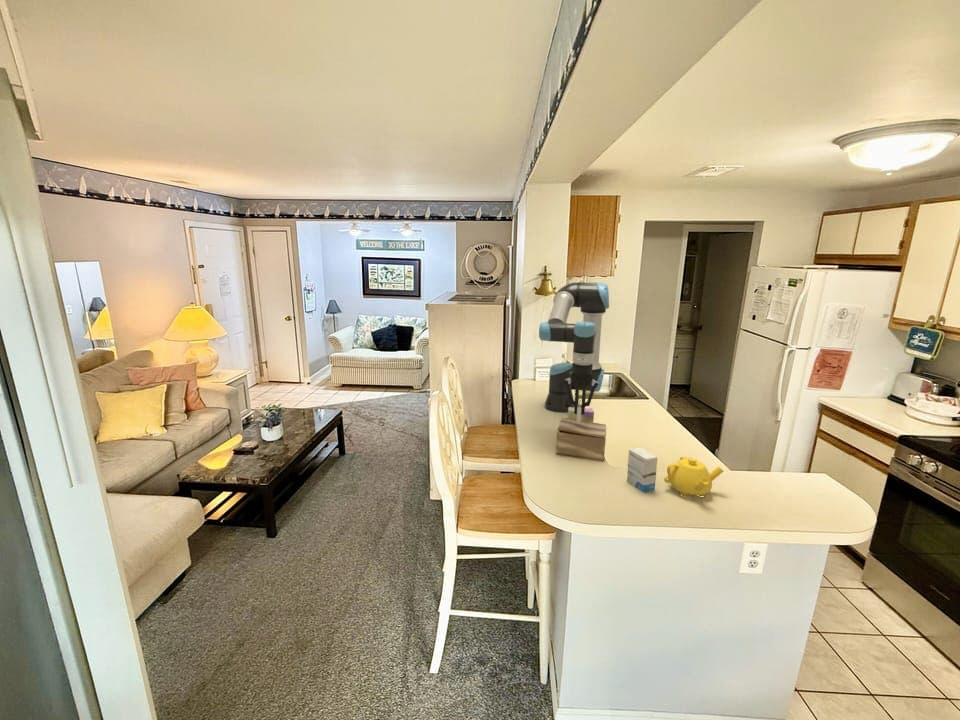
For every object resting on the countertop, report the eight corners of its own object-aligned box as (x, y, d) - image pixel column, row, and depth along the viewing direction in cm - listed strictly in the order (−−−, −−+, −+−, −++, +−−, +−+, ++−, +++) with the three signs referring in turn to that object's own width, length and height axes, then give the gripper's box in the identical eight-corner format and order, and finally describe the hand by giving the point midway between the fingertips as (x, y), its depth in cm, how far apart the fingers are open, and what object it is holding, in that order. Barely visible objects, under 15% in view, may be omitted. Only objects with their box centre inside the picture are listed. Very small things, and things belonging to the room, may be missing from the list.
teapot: (703, 508, 126) (708, 474, 124) (659, 490, 136) (663, 458, 134) (721, 492, 135) (726, 460, 133) (678, 477, 145) (682, 447, 143)
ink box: (655, 490, 136) (659, 457, 133) (642, 493, 134) (646, 459, 132) (637, 478, 144) (640, 446, 141) (625, 480, 142) (628, 448, 140)
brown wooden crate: (559, 442, 173) (560, 422, 171) (604, 448, 168) (606, 427, 166) (555, 454, 162) (556, 432, 160) (603, 461, 156) (605, 438, 155)
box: (590, 433, 184) (592, 407, 181) (592, 438, 178) (594, 412, 175) (566, 432, 184) (567, 406, 182) (567, 437, 179) (569, 411, 176)
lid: (561, 419, 171) (561, 417, 171) (605, 426, 166) (606, 424, 166) (557, 429, 159) (557, 427, 159) (604, 438, 154) (605, 435, 154)
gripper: (563, 363, 156) (560, 423, 161) (599, 366, 152) (595, 427, 158) (566, 359, 163) (562, 416, 168) (600, 362, 159) (596, 420, 165)
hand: (578, 421), depth 163 cm, fingers closed
